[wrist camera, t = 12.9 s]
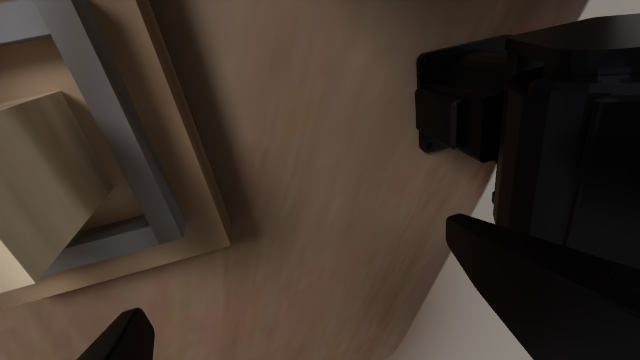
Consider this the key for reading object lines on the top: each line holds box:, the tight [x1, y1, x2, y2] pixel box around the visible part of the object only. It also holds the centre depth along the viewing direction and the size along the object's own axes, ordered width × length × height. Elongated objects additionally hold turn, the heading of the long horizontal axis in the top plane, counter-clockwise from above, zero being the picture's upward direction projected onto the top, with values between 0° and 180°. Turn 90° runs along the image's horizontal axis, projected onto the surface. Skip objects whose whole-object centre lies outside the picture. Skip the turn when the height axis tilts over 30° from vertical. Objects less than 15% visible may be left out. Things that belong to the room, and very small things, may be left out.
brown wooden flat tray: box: [0, 0, 232, 310], centre depth 15 cm, size 14×16×4 cm
